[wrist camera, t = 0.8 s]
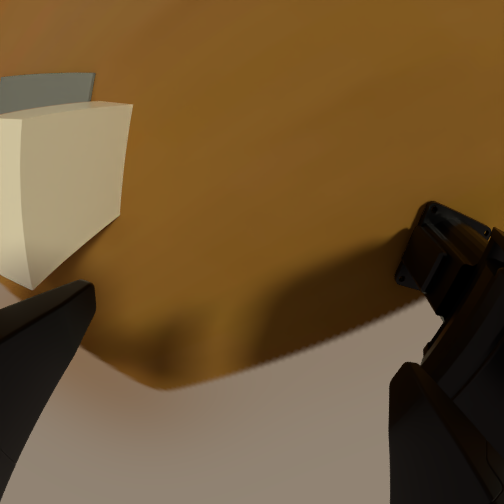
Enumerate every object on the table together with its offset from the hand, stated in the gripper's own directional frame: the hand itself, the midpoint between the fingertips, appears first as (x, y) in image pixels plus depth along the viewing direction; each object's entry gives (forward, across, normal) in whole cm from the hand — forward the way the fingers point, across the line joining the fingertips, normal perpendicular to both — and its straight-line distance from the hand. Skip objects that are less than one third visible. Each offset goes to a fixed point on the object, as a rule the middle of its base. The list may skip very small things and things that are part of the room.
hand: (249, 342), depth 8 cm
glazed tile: (+13, +12, 0) cm, 17 cm away
